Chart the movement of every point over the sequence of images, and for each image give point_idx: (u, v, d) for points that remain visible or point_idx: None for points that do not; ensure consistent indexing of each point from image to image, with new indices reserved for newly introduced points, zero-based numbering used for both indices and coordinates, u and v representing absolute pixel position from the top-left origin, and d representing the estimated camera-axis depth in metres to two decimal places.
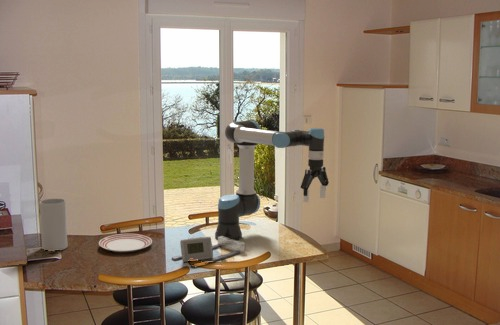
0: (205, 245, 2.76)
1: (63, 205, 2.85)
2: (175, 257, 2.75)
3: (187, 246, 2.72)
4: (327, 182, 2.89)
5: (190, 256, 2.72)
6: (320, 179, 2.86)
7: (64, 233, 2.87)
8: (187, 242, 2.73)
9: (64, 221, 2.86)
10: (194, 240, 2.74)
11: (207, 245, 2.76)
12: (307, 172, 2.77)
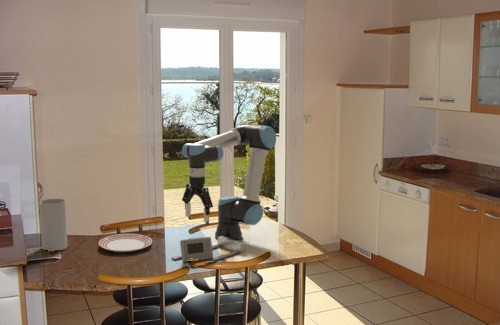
0: (205, 245, 2.76)
1: (63, 205, 2.85)
2: (175, 257, 2.75)
3: (187, 246, 2.72)
4: (207, 206, 2.64)
5: (190, 256, 2.72)
6: None
7: (64, 233, 2.87)
8: (187, 242, 2.73)
9: (64, 221, 2.86)
10: (194, 240, 2.74)
11: (207, 245, 2.76)
12: None
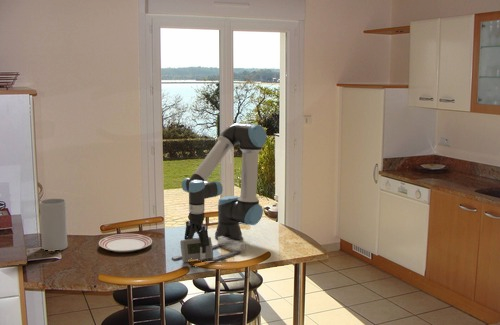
0: None
1: (63, 205, 2.85)
2: (175, 257, 2.75)
3: (187, 246, 2.72)
4: (204, 244, 2.69)
5: (190, 256, 2.71)
6: None
7: (64, 233, 2.87)
8: (187, 242, 2.72)
9: (64, 221, 2.86)
10: (194, 240, 2.74)
11: None
12: None
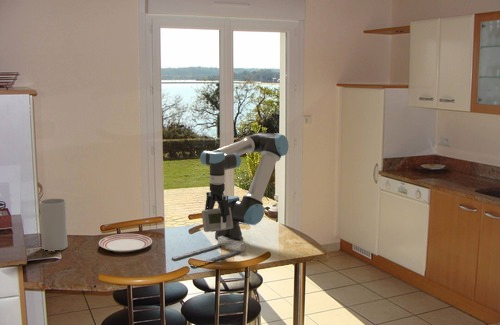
0: None
1: (63, 205, 2.85)
2: (175, 257, 2.75)
3: (208, 216, 2.79)
4: (224, 214, 2.76)
5: (211, 226, 2.79)
6: None
7: (64, 233, 2.87)
8: (208, 212, 2.79)
9: (64, 221, 2.86)
10: (215, 210, 2.81)
11: None
12: None
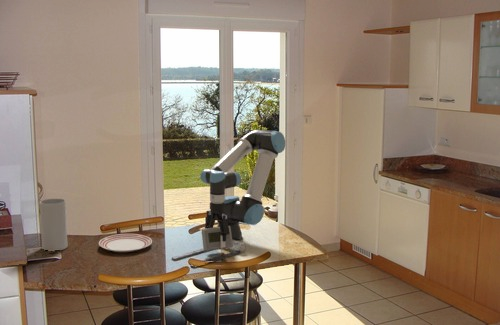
0: None
1: (63, 205, 2.85)
2: (175, 257, 2.75)
3: (208, 235, 2.81)
4: (224, 233, 2.78)
5: (211, 245, 2.80)
6: None
7: (64, 233, 2.87)
8: (208, 231, 2.81)
9: (64, 221, 2.86)
10: (215, 229, 2.83)
11: None
12: None
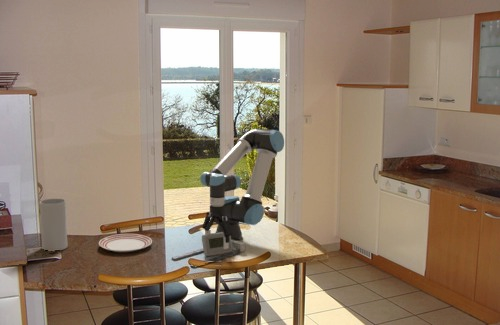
0: None
1: (63, 205, 2.85)
2: (175, 257, 2.75)
3: (209, 241, 2.81)
4: (227, 234, 2.77)
5: (212, 250, 2.81)
6: None
7: (64, 233, 2.87)
8: (208, 237, 2.81)
9: (64, 221, 2.86)
10: (215, 235, 2.83)
11: None
12: None
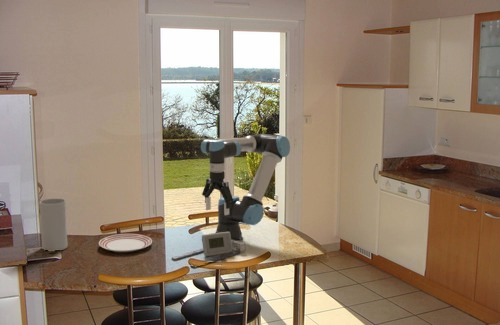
0: (225, 240, 2.85)
1: (63, 205, 2.85)
2: (175, 257, 2.75)
3: (209, 241, 2.81)
4: (228, 200, 2.75)
5: (212, 250, 2.81)
6: None
7: (64, 233, 2.87)
8: (208, 237, 2.81)
9: (64, 221, 2.86)
10: (215, 235, 2.83)
11: (227, 240, 2.86)
12: None
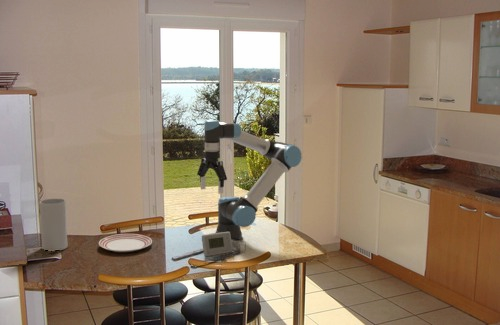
0: (225, 240, 2.85)
1: (63, 205, 2.85)
2: (175, 257, 2.75)
3: (209, 241, 2.81)
4: (222, 178, 2.80)
5: (211, 251, 2.81)
6: None
7: (64, 233, 2.87)
8: (208, 237, 2.81)
9: (64, 221, 2.86)
10: (215, 235, 2.83)
11: (227, 240, 2.86)
12: None
